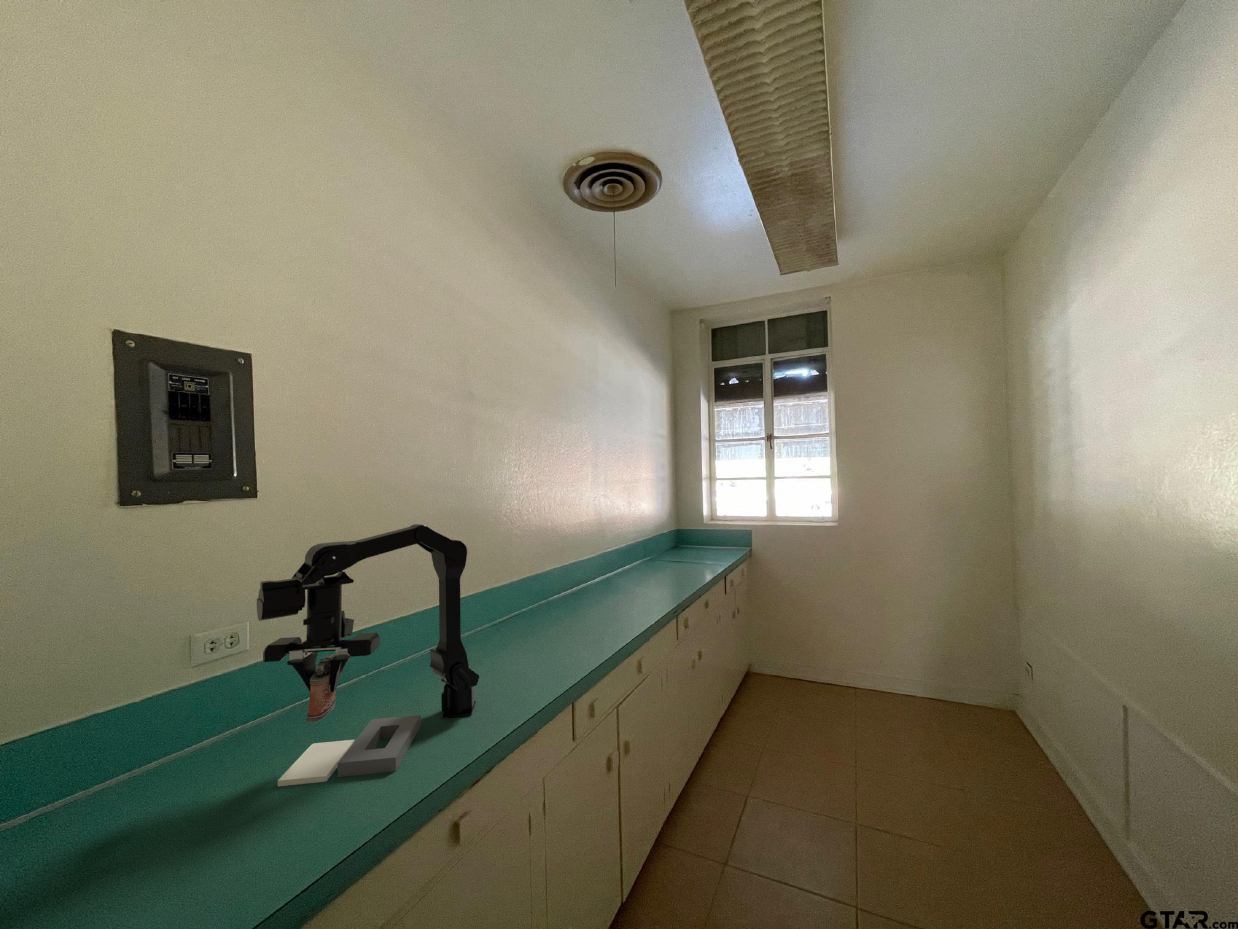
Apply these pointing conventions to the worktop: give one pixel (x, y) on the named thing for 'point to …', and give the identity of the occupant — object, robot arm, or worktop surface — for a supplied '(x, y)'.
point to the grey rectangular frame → (386, 759)
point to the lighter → (321, 692)
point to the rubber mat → (316, 763)
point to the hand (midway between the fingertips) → (323, 692)
